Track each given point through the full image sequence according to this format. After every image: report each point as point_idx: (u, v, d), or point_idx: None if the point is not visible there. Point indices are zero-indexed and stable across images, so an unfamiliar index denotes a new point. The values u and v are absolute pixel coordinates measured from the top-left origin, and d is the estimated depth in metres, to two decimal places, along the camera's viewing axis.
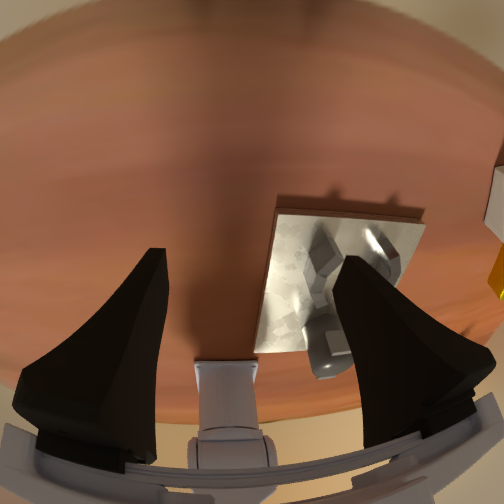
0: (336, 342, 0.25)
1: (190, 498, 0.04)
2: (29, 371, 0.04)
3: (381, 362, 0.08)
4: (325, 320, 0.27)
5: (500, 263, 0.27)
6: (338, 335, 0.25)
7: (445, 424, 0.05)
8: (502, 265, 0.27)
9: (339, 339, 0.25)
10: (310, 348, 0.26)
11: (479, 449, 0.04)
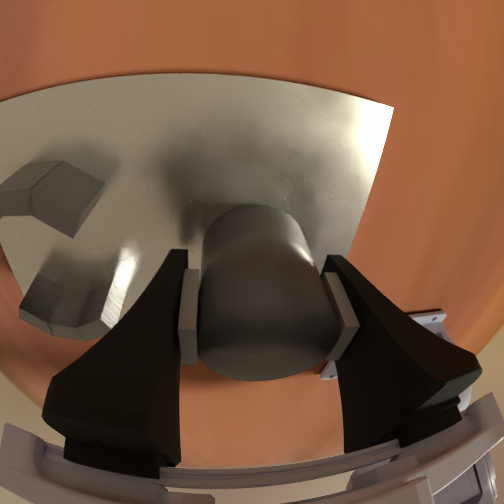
0: None
1: (190, 498, 0.04)
2: (61, 380, 0.04)
3: (360, 365, 0.08)
4: None
5: None
6: None
7: (425, 433, 0.05)
8: None
9: None
10: None
11: (479, 449, 0.04)
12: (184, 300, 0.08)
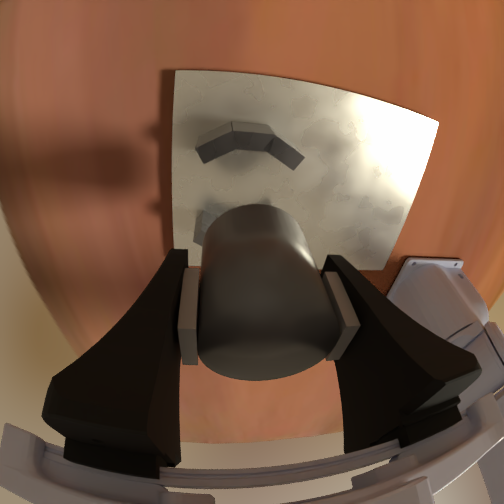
0: None
1: (190, 498, 0.04)
2: (60, 379, 0.04)
3: (360, 366, 0.08)
4: None
5: None
6: None
7: (425, 433, 0.05)
8: None
9: None
10: None
11: (479, 449, 0.04)
12: (184, 299, 0.08)
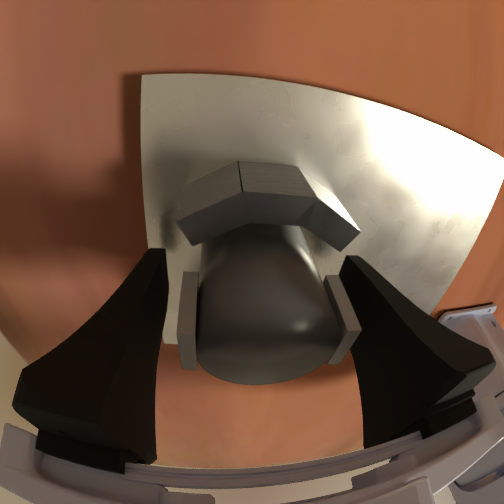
0: None
1: (190, 498, 0.04)
2: (29, 371, 0.04)
3: (381, 362, 0.08)
4: None
5: None
6: None
7: (445, 424, 0.05)
8: None
9: None
10: None
11: (479, 449, 0.04)
12: (182, 303, 0.08)
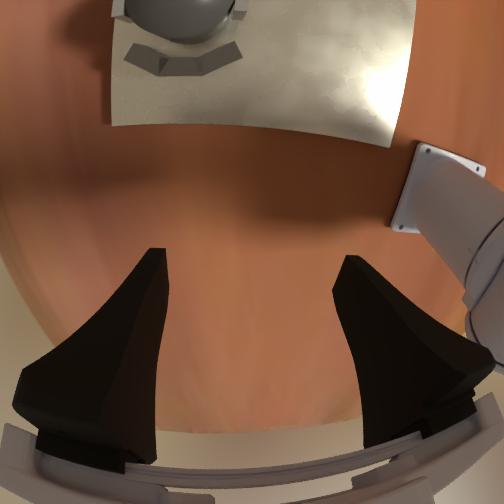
0: None
1: (190, 498, 0.04)
2: (29, 371, 0.04)
3: (381, 362, 0.08)
4: None
5: None
6: None
7: (445, 424, 0.05)
8: None
9: None
10: (170, 39, 0.10)
11: (479, 449, 0.04)
12: None
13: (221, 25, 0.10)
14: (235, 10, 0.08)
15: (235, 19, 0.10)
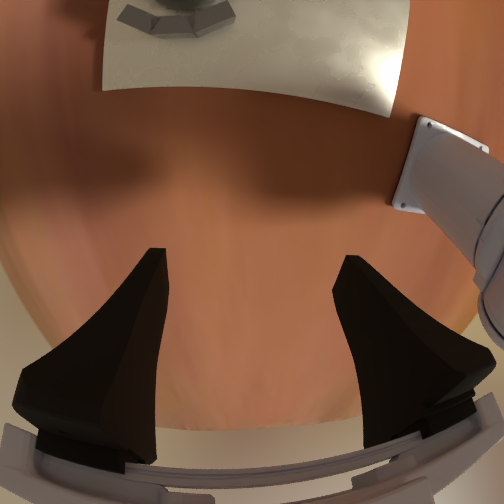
0: None
1: (190, 498, 0.04)
2: (29, 371, 0.04)
3: (381, 362, 0.08)
4: None
5: None
6: None
7: (445, 424, 0.05)
8: None
9: None
10: None
11: (479, 449, 0.04)
12: None
13: None
14: None
15: None
